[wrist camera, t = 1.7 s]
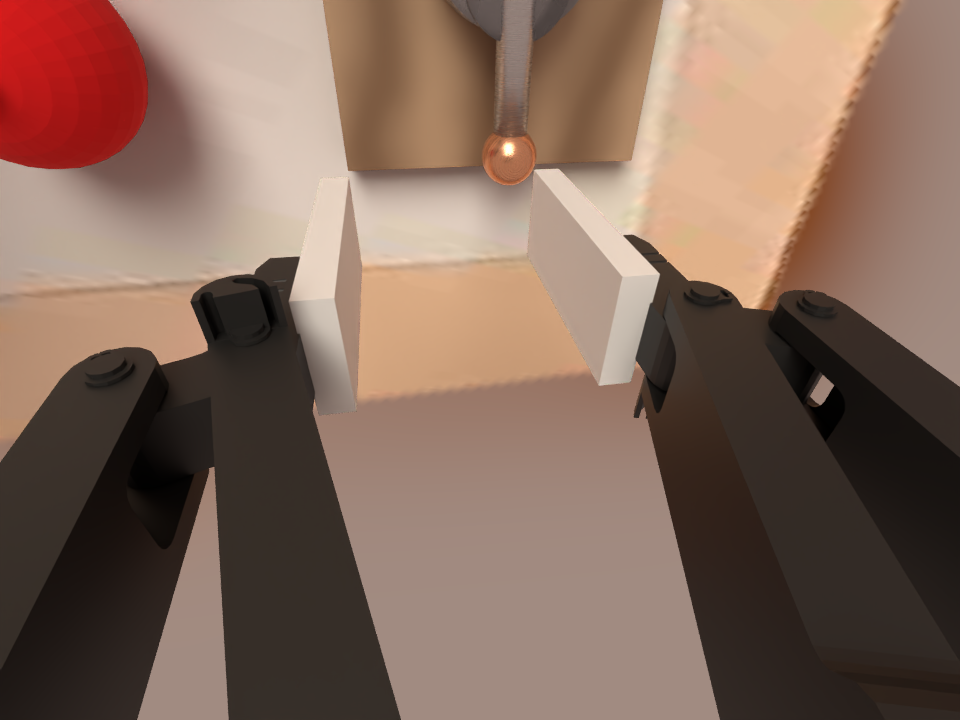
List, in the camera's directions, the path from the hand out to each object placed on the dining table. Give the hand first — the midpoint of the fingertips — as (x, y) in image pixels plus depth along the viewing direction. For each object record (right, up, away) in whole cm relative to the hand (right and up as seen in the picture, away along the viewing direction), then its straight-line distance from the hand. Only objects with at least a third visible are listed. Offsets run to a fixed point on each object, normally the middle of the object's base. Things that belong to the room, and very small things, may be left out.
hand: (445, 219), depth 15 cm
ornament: (-20, +12, +11) cm, 26 cm away
